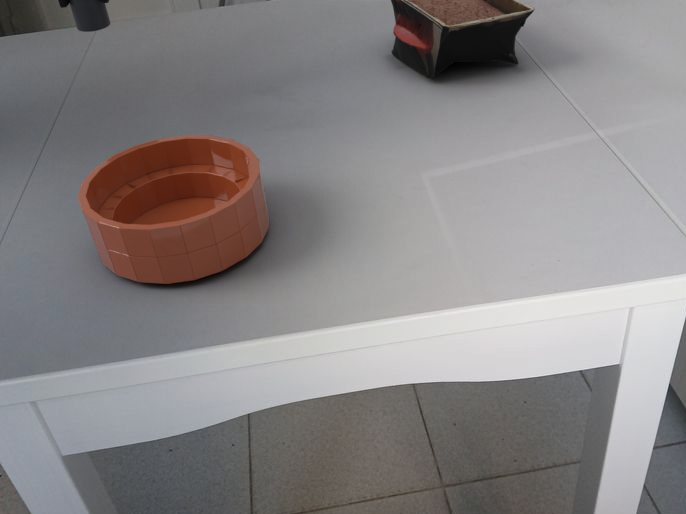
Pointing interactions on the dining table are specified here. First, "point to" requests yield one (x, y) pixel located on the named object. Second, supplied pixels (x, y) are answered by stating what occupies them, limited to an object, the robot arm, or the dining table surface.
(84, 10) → the dark grey cylinder
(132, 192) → the bowl
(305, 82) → the dining table surface
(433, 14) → the black soil planter box
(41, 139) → the dining table surface
